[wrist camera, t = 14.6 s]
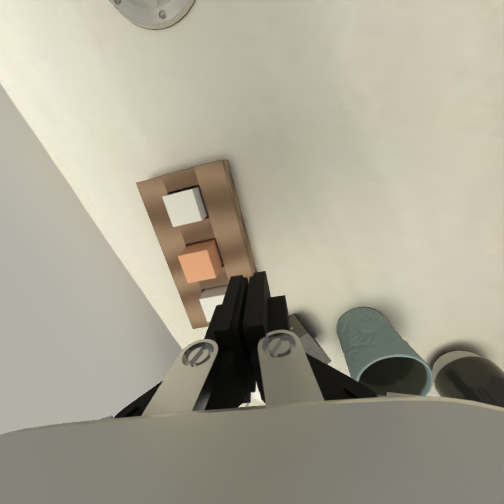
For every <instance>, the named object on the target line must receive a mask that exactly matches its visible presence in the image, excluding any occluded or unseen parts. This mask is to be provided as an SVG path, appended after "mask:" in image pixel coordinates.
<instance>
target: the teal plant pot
mask: <svg viewBox="0 0 504 504" xmlns="http://www.w3.org/2000/svg"><path fill="white" fill-rule="evenodd" d="M337 334H338V337H339V340H340V343H341V347H342V350H343V352H344V357H345V360H346V363H347V366H348V369H349V372H350V375H351V378H352V379H354V380H356V381H358V382H359V383H361V384H363V385H365V386H366V387H368V388H369V389H371V390H372V391H373V392H374V393H375V394H376V395H381V396H387V392H392V393H400V394H409V395H417V396H427V394H428V393H429V392H430V390H431V388H432V385H433V375H432V371H431V370H430V368H429V366H428V365H427V364H426V363H425V362H424V360H423V359H422V358H421V357H420V356H419V355H418V354H417V353H416V352H415V351H414V350H413V349H412V348H411V347H410V346H409V344H408V343H407V342H406V341H405V340H403V339H402V338H401V336H400V335H399V334H398V333H397V332H396V331H395V330H394V329H393V328H392V326H391V324H390V323H389V322H388V321H387V320H386V318H385V317H384V316H383V315H382V314H381V313H380V312H378V311H377V310H374V309H371V308H366V307H365V308H364V307H362V308H361V307H359V308H354V309H352V310H350V311H348V312H346V313H345V314H344V315H343V316H342V317H341V318H340V320H339V322H338V324H337Z"/></svg>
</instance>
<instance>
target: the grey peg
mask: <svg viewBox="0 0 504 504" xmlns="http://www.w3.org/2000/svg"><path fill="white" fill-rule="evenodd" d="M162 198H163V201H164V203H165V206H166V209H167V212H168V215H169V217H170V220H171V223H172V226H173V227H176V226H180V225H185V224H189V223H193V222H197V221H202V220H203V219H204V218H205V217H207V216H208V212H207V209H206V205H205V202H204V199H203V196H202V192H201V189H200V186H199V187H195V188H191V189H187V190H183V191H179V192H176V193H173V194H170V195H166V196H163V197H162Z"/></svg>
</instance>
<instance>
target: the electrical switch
mask: <svg viewBox="0 0 504 504" xmlns="http://www.w3.org/2000/svg"><path fill="white" fill-rule="evenodd" d="M289 321H290V328H291V332H293V333H295V334H296V335H297V336H298V337H299V339H300V341H301V344H302V346H303V349H304V351H305V353H307V354H309V355H311V356H313V357H314V358H316V359H318V360H320V361H322V362H323V363H325V364H328V363H329V362H331V360H330V358H329V357H328V356H327V355H326V353H325V352H324V351H323V349H322V348H321V347H320V345H319V344H318V343H317V342H316V340H315V339H314V338H313V337H312V336H311V334H310V333H309V332H308V331H307V330H306V328H305V327H304V326H303V325H302V324H301V323H300V321H299V320H298V319H297V318H296V317H295V315H294V314H292V315H291V316H290V317H289Z"/></svg>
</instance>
